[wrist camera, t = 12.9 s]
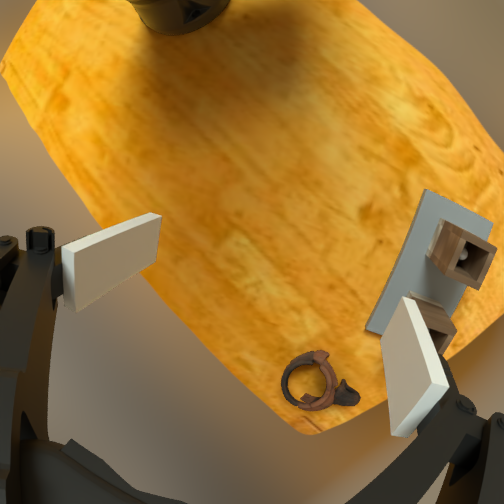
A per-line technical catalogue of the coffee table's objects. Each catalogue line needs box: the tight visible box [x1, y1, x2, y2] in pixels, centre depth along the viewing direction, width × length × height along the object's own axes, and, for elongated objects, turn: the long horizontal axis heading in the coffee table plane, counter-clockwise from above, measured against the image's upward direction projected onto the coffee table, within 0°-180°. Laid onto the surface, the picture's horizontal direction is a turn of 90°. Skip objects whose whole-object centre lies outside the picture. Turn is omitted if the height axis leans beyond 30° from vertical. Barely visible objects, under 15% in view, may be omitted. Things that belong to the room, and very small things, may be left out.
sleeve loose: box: [406, 290, 457, 355], centre depth 33 cm, size 5×5×8 cm
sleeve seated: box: [426, 217, 497, 291], centre depth 30 cm, size 5×5×8 cm
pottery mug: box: [281, 350, 361, 411], centre depth 42 cm, size 12×10×8 cm
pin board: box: [365, 188, 493, 335], centre depth 33 cm, size 20×11×7 cm, turn 163°
